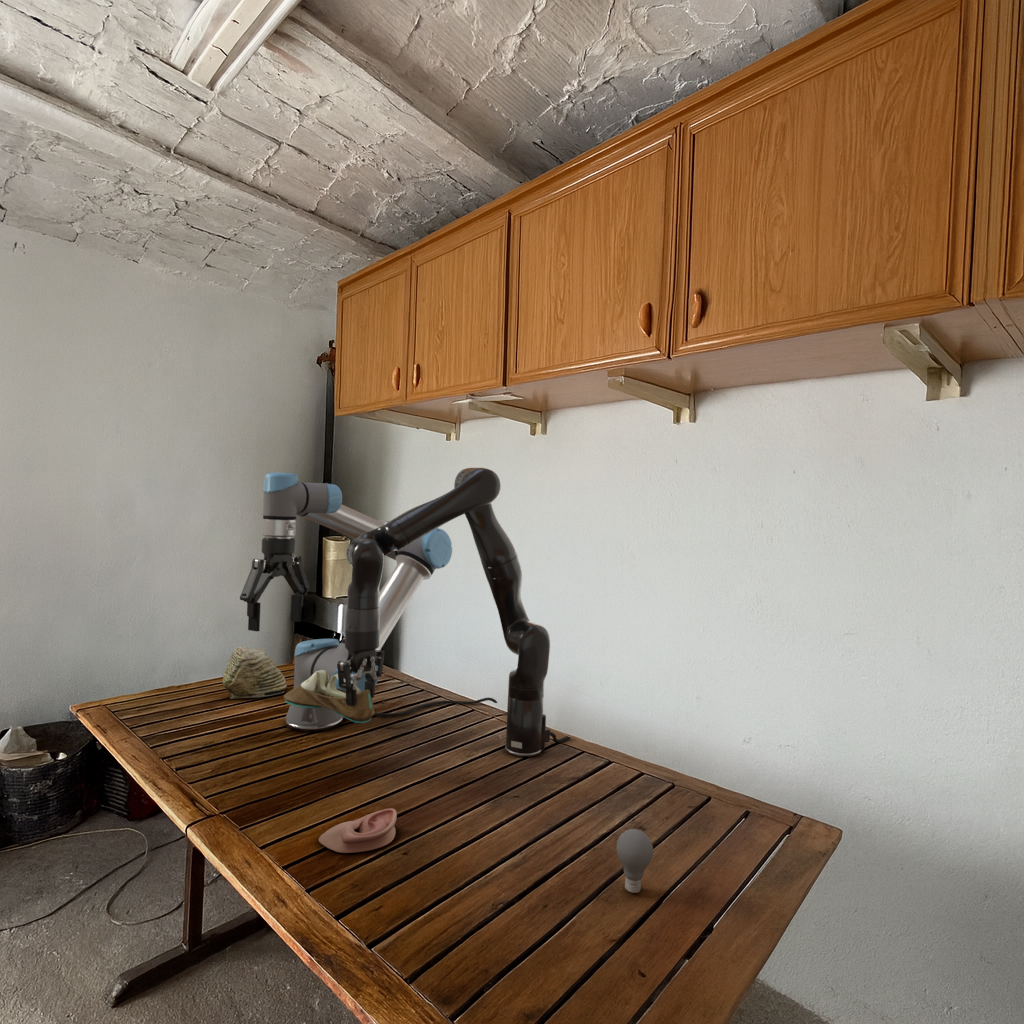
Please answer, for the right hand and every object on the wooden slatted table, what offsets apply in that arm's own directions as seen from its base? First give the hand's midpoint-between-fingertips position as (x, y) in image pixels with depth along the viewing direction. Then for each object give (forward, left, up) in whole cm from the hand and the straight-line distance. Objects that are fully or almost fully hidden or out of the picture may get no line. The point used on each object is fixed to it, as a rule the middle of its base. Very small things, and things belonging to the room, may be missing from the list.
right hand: (360, 701), depth 142 cm
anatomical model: (+6, +24, -18) cm, 31 cm away
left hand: (+16, -19, +14) cm, 29 cm away
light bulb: (-32, +58, -18) cm, 69 cm away
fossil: (+15, -70, -18) cm, 74 cm away
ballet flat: (+6, -7, -4) cm, 10 cm away
